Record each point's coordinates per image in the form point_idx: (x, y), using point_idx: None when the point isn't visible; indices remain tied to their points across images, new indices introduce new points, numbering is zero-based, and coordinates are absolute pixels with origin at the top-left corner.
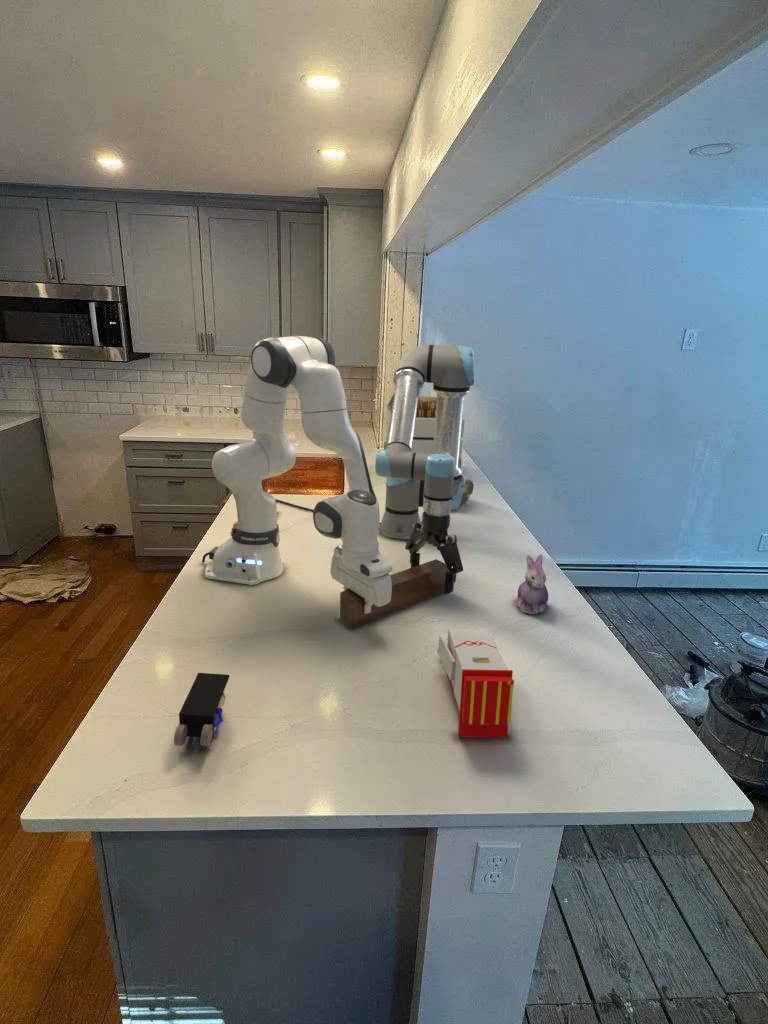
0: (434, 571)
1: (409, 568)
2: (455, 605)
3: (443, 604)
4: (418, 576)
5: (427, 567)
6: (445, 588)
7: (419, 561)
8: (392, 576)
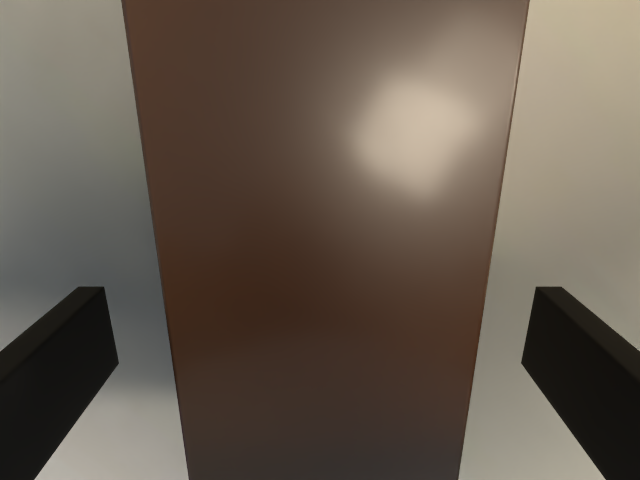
0: (185, 400)
1: (501, 119)
2: (52, 284)
3: (105, 225)
4: (125, 18)
5: (316, 398)
6: (62, 314)
7: (600, 470)
8: None
